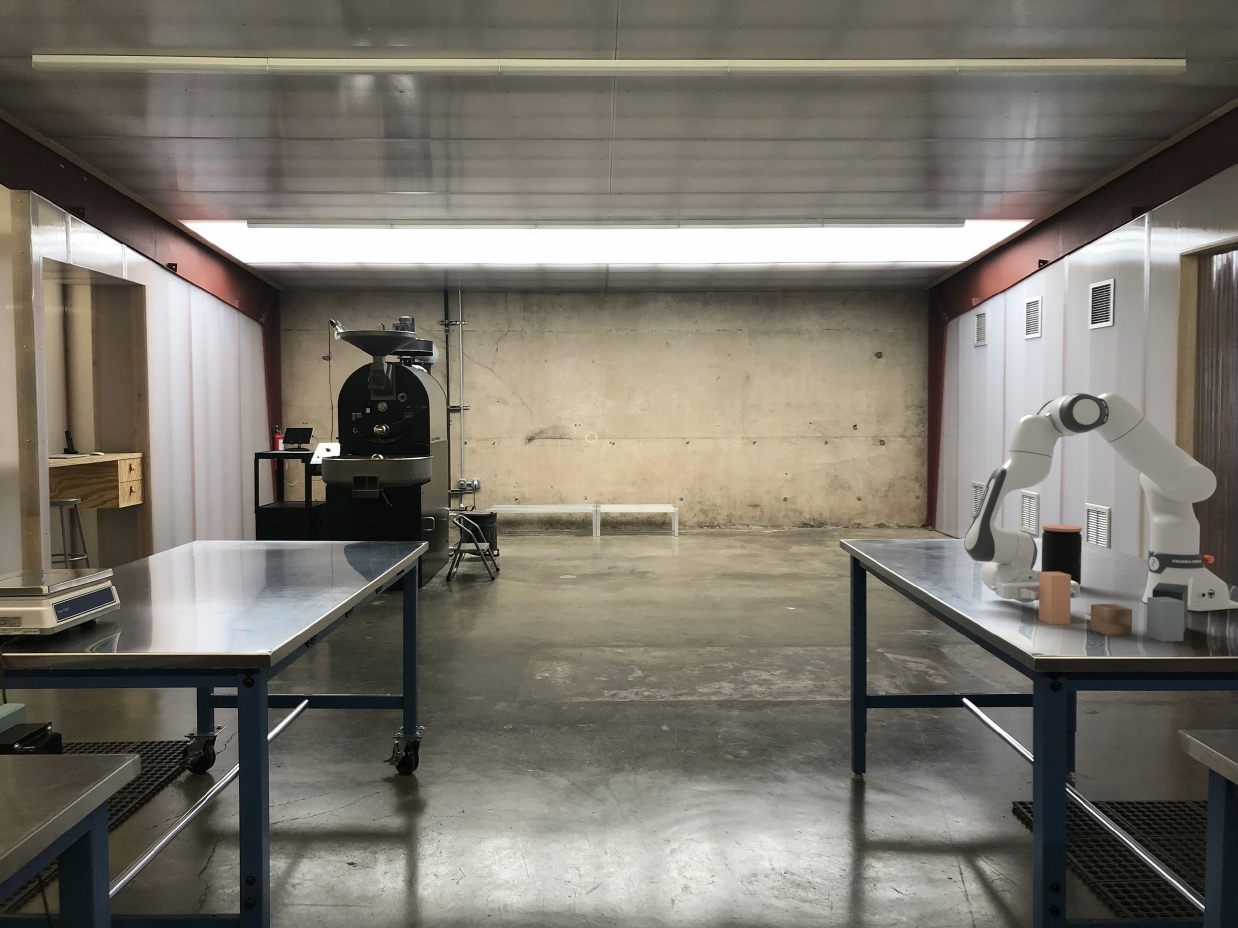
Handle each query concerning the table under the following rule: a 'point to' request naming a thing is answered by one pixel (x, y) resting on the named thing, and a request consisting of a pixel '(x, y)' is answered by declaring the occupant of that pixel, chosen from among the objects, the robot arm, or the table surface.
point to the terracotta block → (1054, 597)
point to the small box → (1174, 596)
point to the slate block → (1165, 618)
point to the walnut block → (1111, 619)
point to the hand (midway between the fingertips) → (1054, 595)
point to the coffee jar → (1062, 550)
